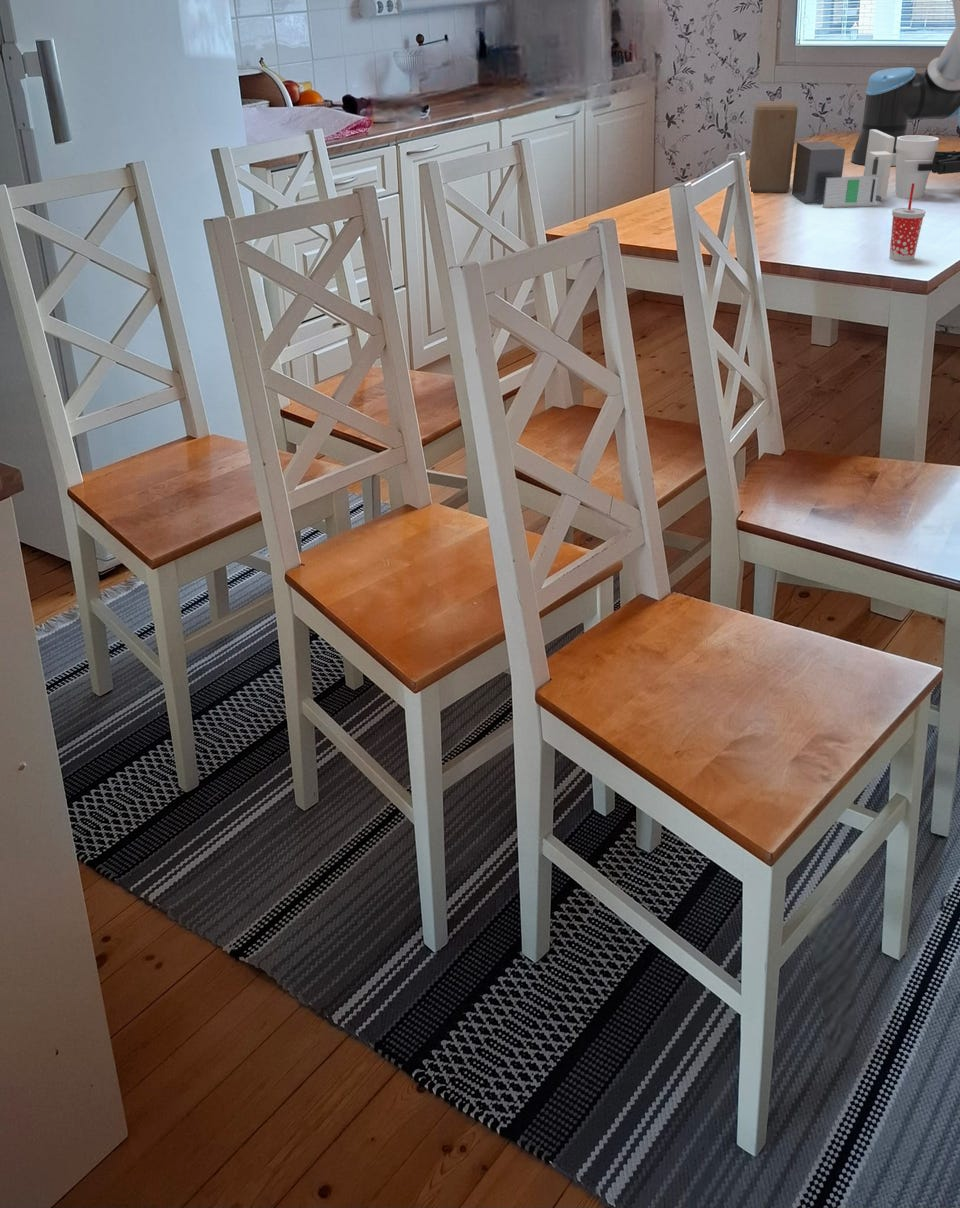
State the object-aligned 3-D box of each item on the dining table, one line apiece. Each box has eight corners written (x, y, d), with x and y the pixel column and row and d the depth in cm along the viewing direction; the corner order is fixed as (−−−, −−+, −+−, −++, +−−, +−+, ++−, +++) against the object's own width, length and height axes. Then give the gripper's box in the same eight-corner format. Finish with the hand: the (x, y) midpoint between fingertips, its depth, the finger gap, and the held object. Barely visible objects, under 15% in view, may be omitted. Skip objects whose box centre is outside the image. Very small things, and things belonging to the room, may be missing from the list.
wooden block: (789, 193, 288) (798, 105, 278) (747, 192, 290) (755, 105, 280) (787, 185, 296) (796, 100, 286) (747, 185, 298) (755, 100, 288)
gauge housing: (866, 192, 287) (873, 140, 281) (889, 205, 273) (898, 151, 267) (791, 194, 287) (797, 142, 281) (811, 208, 272) (817, 153, 266)
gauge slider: (868, 186, 287) (875, 129, 281) (892, 199, 272) (901, 140, 266) (845, 186, 287) (853, 130, 280) (868, 200, 272) (877, 140, 266)
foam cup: (900, 190, 288) (909, 134, 282) (936, 195, 282) (945, 137, 276) (881, 196, 282) (889, 138, 276) (917, 201, 277) (926, 142, 270)
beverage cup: (909, 263, 226) (922, 187, 219) (879, 258, 230) (890, 184, 223) (923, 257, 230) (935, 182, 223) (893, 252, 234) (904, 179, 227)
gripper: (1005, 185, 271) (910, 188, 271) (966, 169, 291) (877, 171, 290) (1012, 151, 268) (915, 154, 267) (972, 136, 287) (882, 139, 286)
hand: (895, 163), depth 278 cm, fingers closed on foam cup, 9 cm apart
